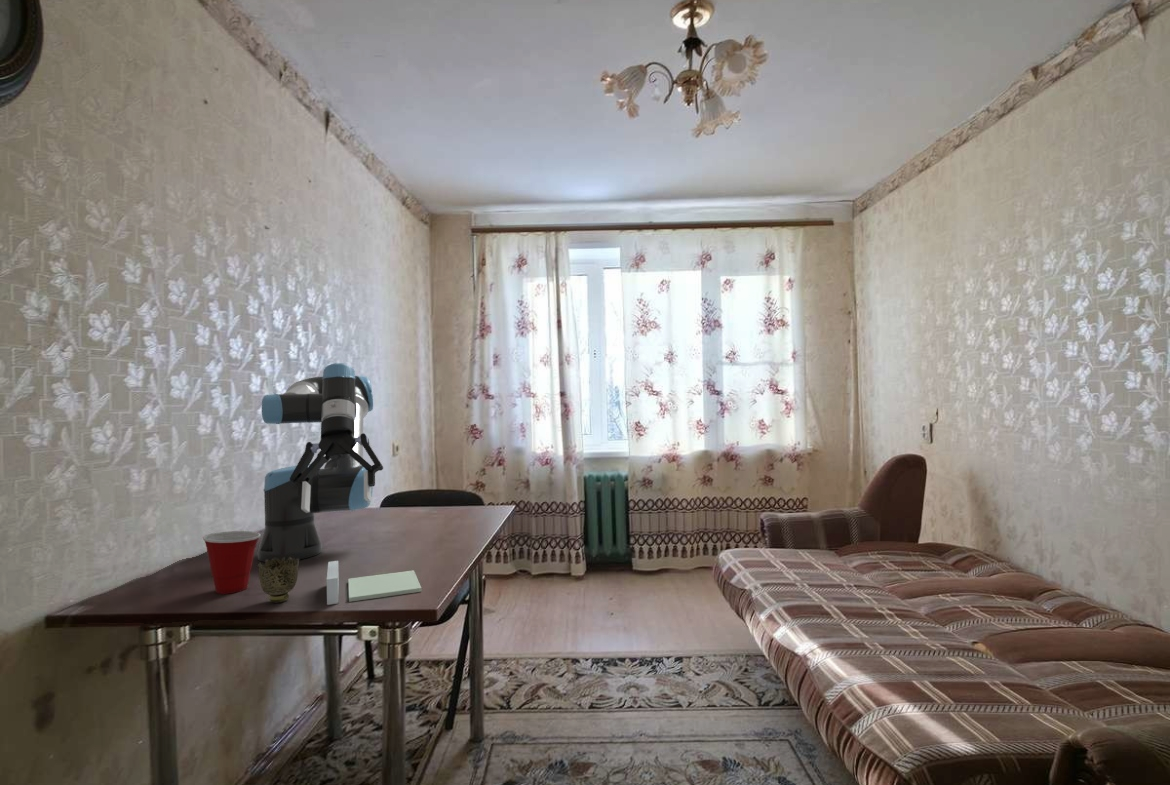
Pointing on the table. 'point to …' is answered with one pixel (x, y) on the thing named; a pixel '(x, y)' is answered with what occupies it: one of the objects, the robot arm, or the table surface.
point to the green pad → (383, 585)
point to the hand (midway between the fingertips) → (336, 505)
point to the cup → (278, 578)
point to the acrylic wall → (332, 583)
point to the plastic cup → (231, 559)
